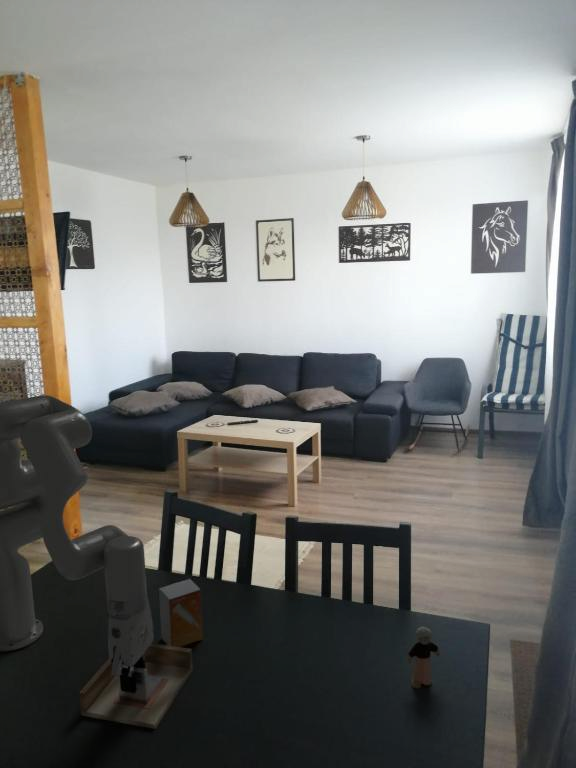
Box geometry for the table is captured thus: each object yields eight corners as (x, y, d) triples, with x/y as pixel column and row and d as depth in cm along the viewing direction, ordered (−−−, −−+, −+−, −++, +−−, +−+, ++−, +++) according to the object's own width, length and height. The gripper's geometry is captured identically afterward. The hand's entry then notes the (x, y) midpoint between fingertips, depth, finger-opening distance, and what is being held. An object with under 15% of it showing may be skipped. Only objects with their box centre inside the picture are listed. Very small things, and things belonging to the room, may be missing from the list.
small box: (171, 651, 139) (168, 599, 137) (161, 638, 144) (157, 587, 142) (203, 639, 143) (201, 588, 141) (192, 626, 149) (189, 577, 146)
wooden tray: (81, 715, 119) (79, 692, 119) (126, 659, 137) (125, 639, 136) (155, 729, 115) (153, 705, 115) (192, 669, 133) (191, 648, 132)
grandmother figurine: (414, 693, 124) (415, 637, 121) (402, 682, 127) (403, 628, 125) (443, 681, 127) (445, 626, 125) (431, 671, 130) (432, 617, 128)
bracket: (146, 704, 120) (144, 673, 119) (119, 699, 122) (117, 668, 121) (162, 681, 127) (160, 651, 126) (137, 677, 129) (134, 647, 127)
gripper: (123, 626, 109) (130, 716, 113) (163, 581, 125) (168, 662, 128) (86, 621, 111) (94, 710, 114) (130, 578, 127) (136, 657, 130)
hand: (133, 684), depth 121 cm, fingers open, 3 cm apart
